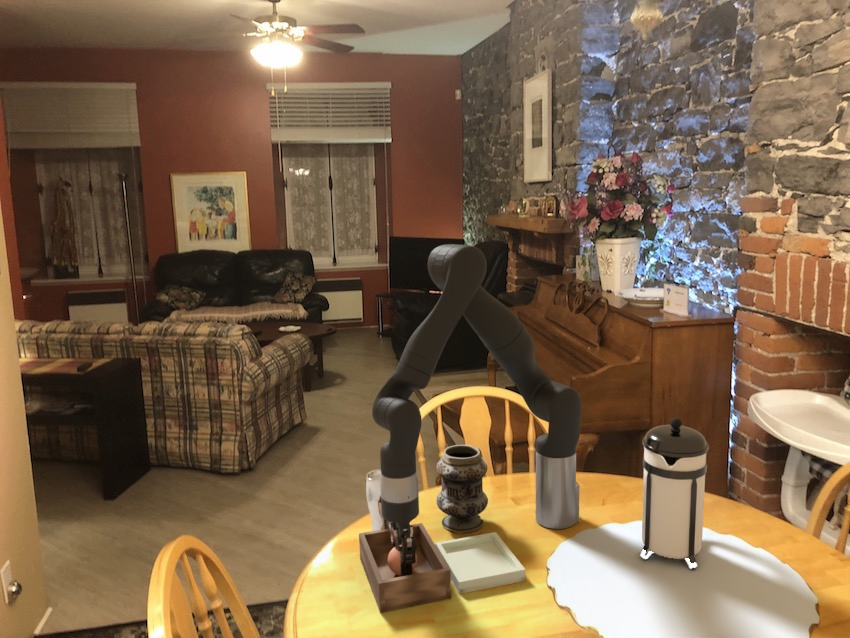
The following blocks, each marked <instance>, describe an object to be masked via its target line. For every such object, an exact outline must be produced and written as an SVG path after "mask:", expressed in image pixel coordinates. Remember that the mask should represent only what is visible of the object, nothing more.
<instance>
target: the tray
mask: <svg viewBox="0 0 850 638" xmlns="http://www.w3.org/2000/svg"><path fill="white" fill-rule="evenodd" d="M434 544H435V546H436V547H437V549H438V551H439V552H440V554H441V556H442V557H443V559H444V561H445V562H446V564H447V566H448V567H449V569H450V578H451V583H452V584H453V586H454V588H455V589H456V591H457V593H458V594H466V593H471V592H476V591H481V590H486V589H490V588H496V587H501V586H505V585H506V586H507V585H511V584H515V583H521V582H526V568H525V567H524V566H523V564H522V563H521V562H520V560H519V559H518V558H517V557H516V556H515V554H514V553H513V552H512V551H511V550H510V547H508V546H507V545H506V543H505V542H504V541H503V539H502V537H500V535H499V534H498V533H497V532H496V531H495V532H488V533H482V534H479V535H472V536H466V537H462V538H455V539H454V538H453V539H449V540H444V541H438V542H435V543H434Z"/></svg>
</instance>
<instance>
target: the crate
mask: <svg viewBox="0 0 850 638" xmlns="http://www.w3.org/2000/svg"><path fill="white" fill-rule="evenodd" d="M411 525H412V527H413V534H412V536H415V538H416V549H415V553H416V555H417V565H416V567H415V569H414V570H413V571H412V575H407V576H400V575H396V574H395V573H393V572H392V571H391V569H390V568H389V565H388V555H389V553H390V551H391V550H392V549H393V546H394V545H392V544H391V538H390V537H389V529H383V530H377V531H371V530H370V531H367V532H365V531H364V532H359V533H358V539H359V540H358V541H359V560H360V562H361V565H362V568H363V570H364V574H365V576H366V579H367V581H368V584H369V587H370V589H371V592H372V594H373V597H374V600H375V603H376V606H377V608H378V612H379V613H381V614H382V613H386V612H392V611H395V610H401V609H405V608H407V609H408V608H411V607H416V606H421V605H422V606H423V605H426V604H431V603H437V602H443V601H445V600H451V599H452V587H451V586H452V584H451V583H452V581H451V578H450V569H449V567H448V566H447V564H446V562H445V561H444V559H443V557H442V556H441V554H440V552H439V551H438V549H437V547H436V546H435V543H434V540H433V538H432V537H431V535H430V533H429V532H428V530H427V529H426V527H425V525H424V523H423V522H420V523H413V524H411Z"/></svg>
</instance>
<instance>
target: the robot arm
mask: <svg viewBox="0 0 850 638" xmlns="http://www.w3.org/2000/svg"><path fill="white" fill-rule="evenodd" d="M487 266H488V262H487V259H486V256H485V253H483V251H482V250H481V249H480V248H479V247H476V246H474V245H470V244H469V245H468V244H454V243H449V244H447V243H446V244H441V245H439V246H437V247H435V248H433V250H431V252H430V253H429V256H428V260H427V270H428V275H429V277H430V278H431V280H432V283H434V285H435V286H436V287H437V288H438V289H439V290H440V292H441V295H440V297H439V299H438V301H437V302H436V304H435V306H434V307H433V309H432V310H431V311H430V313H429V314H428V315H427V317H426V318H425V319H424V320H423V321H422V322H421V323H420V325H419V326H417V327H416V329H415V330H414V331H413V333H412V334H411V336H410V338H409V339H408V341H407V343H406V345H405V347H404V349H403V352H402V354H401V357H400V359H399V361H398V364H397V366H396V368H395V370H394V371H393V373H392V374H391V375H390V376H389V378H388V379H387V380H386V382H385V383H384V385H383V386H382V388H380V390H379V391H378V393H377V395H376V397H375V399H374V401H373V404H372V408H371V415H372V419H373V421H374V422H375V424H376V425H378V427H381V428H383V429H385V430H387V431H389V434H390V437H389V440H387V441H385V442H384V443H383V444H382V446H381V447H380V450H379V451H380V452H379V460H380V461H379V462H380V469H381V479H380V491H381V512H382V516H383V518H384V519H385V520H387V521H388V525H389V537H390V538H391V544H392V545H394V546H393V548H394V547H395V546H396V550H397V551H398V552H399V556H400V566H401V576H407V575H412V564H413V563H415V561H416V559H415V549H416V538H415V536H412V534H413V527H412V525H413V524H410V523H411V522H412V521H413V520H415V519H417V517H418V516H419V514H420V501H419V500H420V499H419V498H420V496H419V481H418V473H417V458H416V457H417V455H416V451H417V447H418V444H419V440H420V439H419V438H420V434H421V430H422V422H423V421H422V414H421V411H420V408H419V406H418V404H417V403H415V402H414V401H413V400H410V399H409V398H410V397H411V396H412V394H413V393H414V392H415V391H417V390H423V389H425V388H427V387H428V385H429V383H430V381H431V379H432V376H433V374H434V372H435V369H436V367H437V364H438V362H439V360H440V357H441V355H442V353H443V351H444V348H445V347H446V344H447V342H448V341H449V338H450V336H451V335H452V333H453V331H454V329H455V328H456V326H457V324H459V321H460V320H461V318H462V317H464V319H465V320H466V322H467V323H468V325H469V326H470V327H471V328H472V330H473V331H474V332H475V333H476V334H477V337H479V339H480V340H481V342H482V344H483V345H484V347H485V348H486V349H487V350H488V351H489V353H490V354H491V356H492V357H493V359H494V360H495V361H496V362H497V363H498V364H499V365H500V367H501V369H503V371H504V372H505V374H506V375H507V376H508V377H509V378H510V379H511V381H512V382H513V383H514V385H515V387H516V388H517V390H518V392H519V393H520V396H521V397H522V399H523V401H524V402H525V404H526V406H527V408H528V409H529V410H530V412H531V413H532V415H534V416H535V417H536V418H538V419H540V420H542V421H544V422H547V423H548V430H547V433H544V434H541V435H538V437H537V438H536V440H535V521H536V523H538V525H540V526H541V527H545V528H548V529H551V530H552V529H553V530H561V529H563V530H564V529H569V528H570V527H572V526H574V524H578V523H580V483H578V481H577V445H578V444H579V439H580V436H581V423H582V399H581V396H580V393H579V392H578V391H577V389H575V388H574V387H571V386H568V385H565V384H563V383H560V382H556V381H555V380H552V379H551V378H550V377H549V376H548V375H547V374H546V373H545V372H544V370H543V369H542V368H541V367H540V366H539V363H538V362H537V360H536V353H535V352H536V351H535V343H534V340H533V338H532V336H531V334H530V333H529V331H528V330H527V328H526V327H525V326H524V324H523V322H522V321H521V319H519V317H518V316H517V315H516V314H515V313H514V312H513V311H512V310H510V309H509V308H508V307H507V306H506V305H505V304H503V303H502V302H501V301H500V300H498V299H496V298H495V297H494V296H493V295H491V293H489V292H488V291H487V290H486V289H485V288H484V287H483V286H482V283H483V281H484V279H485V277H486V273H487V269H488V268H487ZM399 545H402V547H400V546H399ZM406 555H409V556H406Z"/></svg>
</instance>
